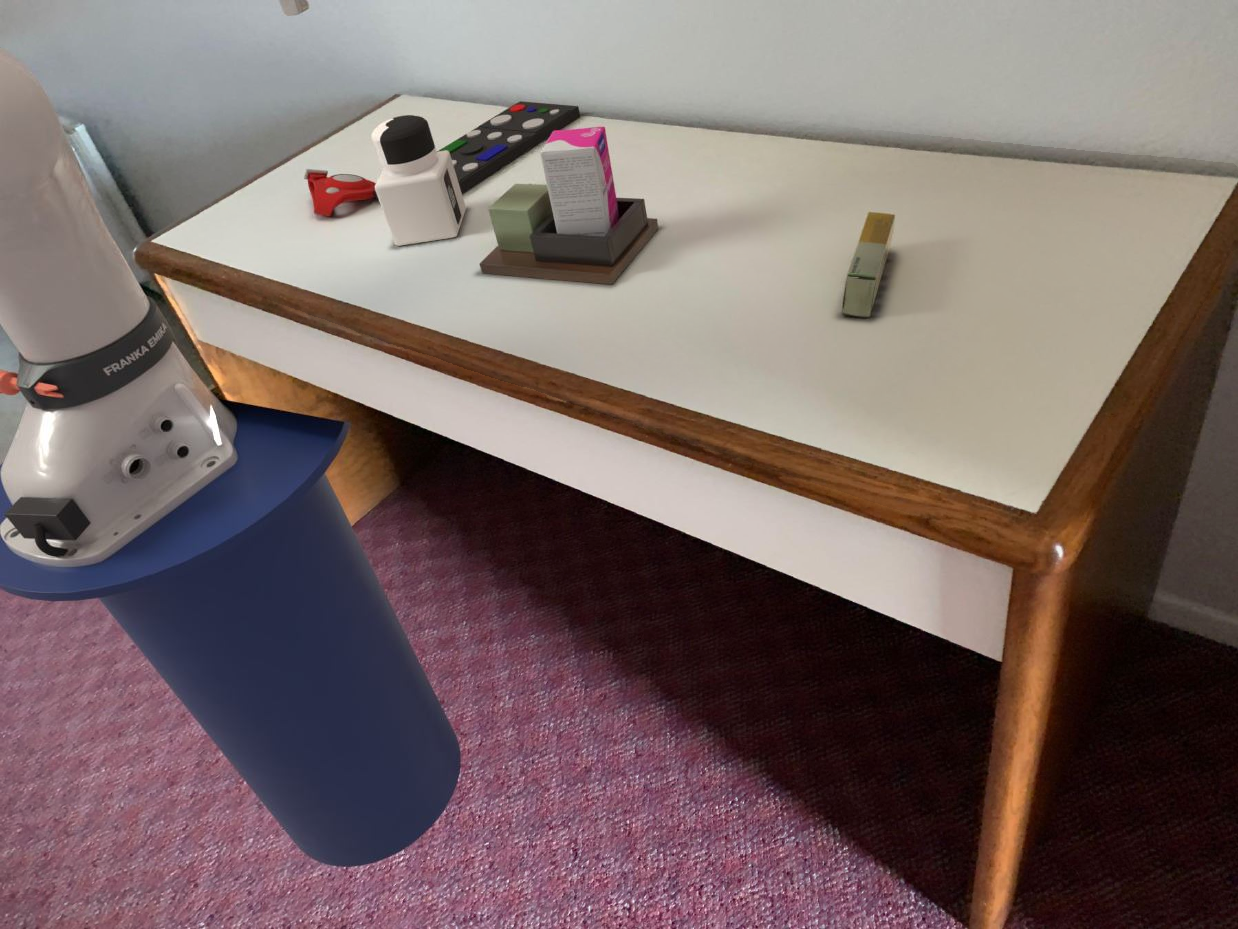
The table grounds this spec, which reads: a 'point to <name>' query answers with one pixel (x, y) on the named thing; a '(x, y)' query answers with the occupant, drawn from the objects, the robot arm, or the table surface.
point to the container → (416, 182)
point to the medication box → (868, 265)
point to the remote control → (505, 139)
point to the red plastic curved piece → (336, 189)
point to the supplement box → (580, 181)
